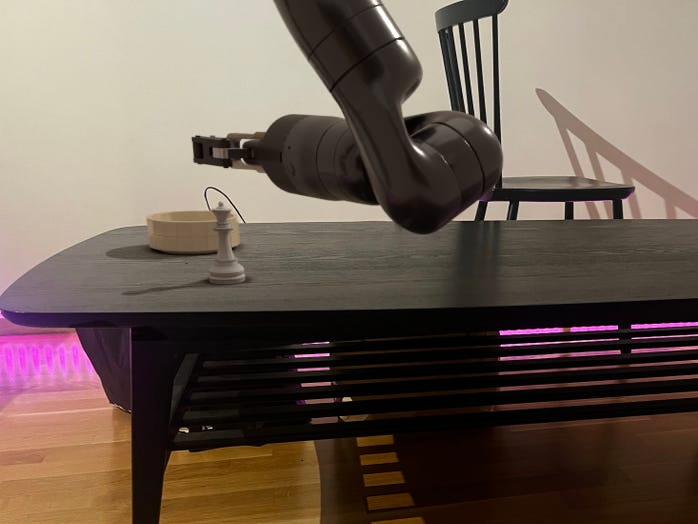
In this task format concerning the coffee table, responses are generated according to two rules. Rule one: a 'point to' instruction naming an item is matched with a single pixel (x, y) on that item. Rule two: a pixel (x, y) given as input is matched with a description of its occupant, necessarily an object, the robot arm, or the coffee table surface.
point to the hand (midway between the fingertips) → (236, 147)
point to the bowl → (188, 232)
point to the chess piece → (224, 252)
